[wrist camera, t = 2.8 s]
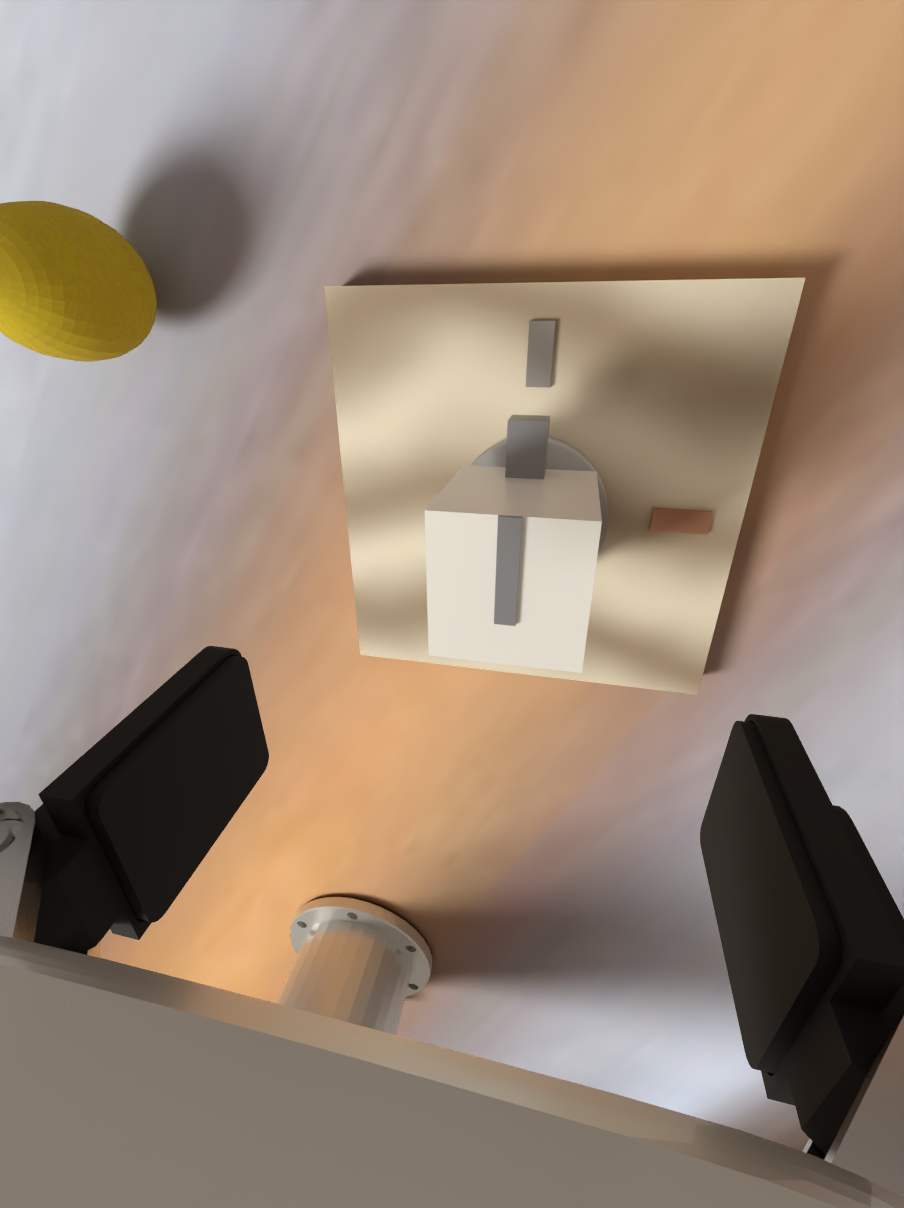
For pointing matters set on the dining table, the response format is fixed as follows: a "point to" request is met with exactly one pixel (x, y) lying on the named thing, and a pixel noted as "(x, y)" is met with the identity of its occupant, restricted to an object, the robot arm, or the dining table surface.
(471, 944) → the dining table surface
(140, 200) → the dining table surface
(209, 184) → the dining table surface
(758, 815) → the robot arm
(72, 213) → the lemon
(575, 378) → the base
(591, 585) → the white box
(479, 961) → the dining table surface
